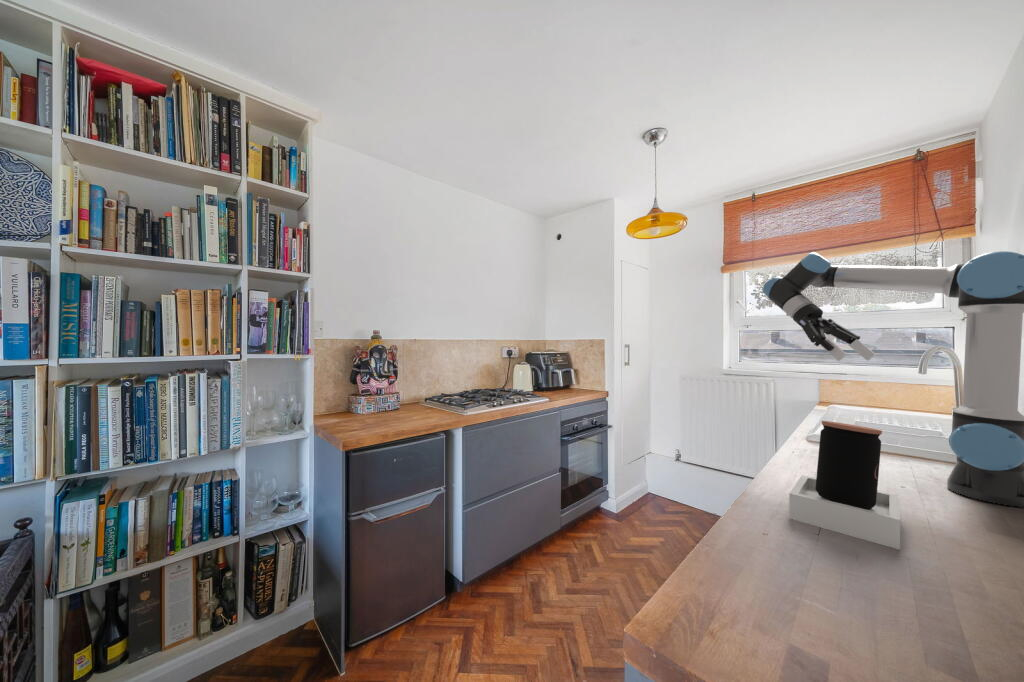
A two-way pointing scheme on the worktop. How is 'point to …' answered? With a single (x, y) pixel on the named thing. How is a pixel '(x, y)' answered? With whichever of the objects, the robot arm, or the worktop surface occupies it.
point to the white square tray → (847, 514)
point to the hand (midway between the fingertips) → (857, 357)
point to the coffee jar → (848, 464)
